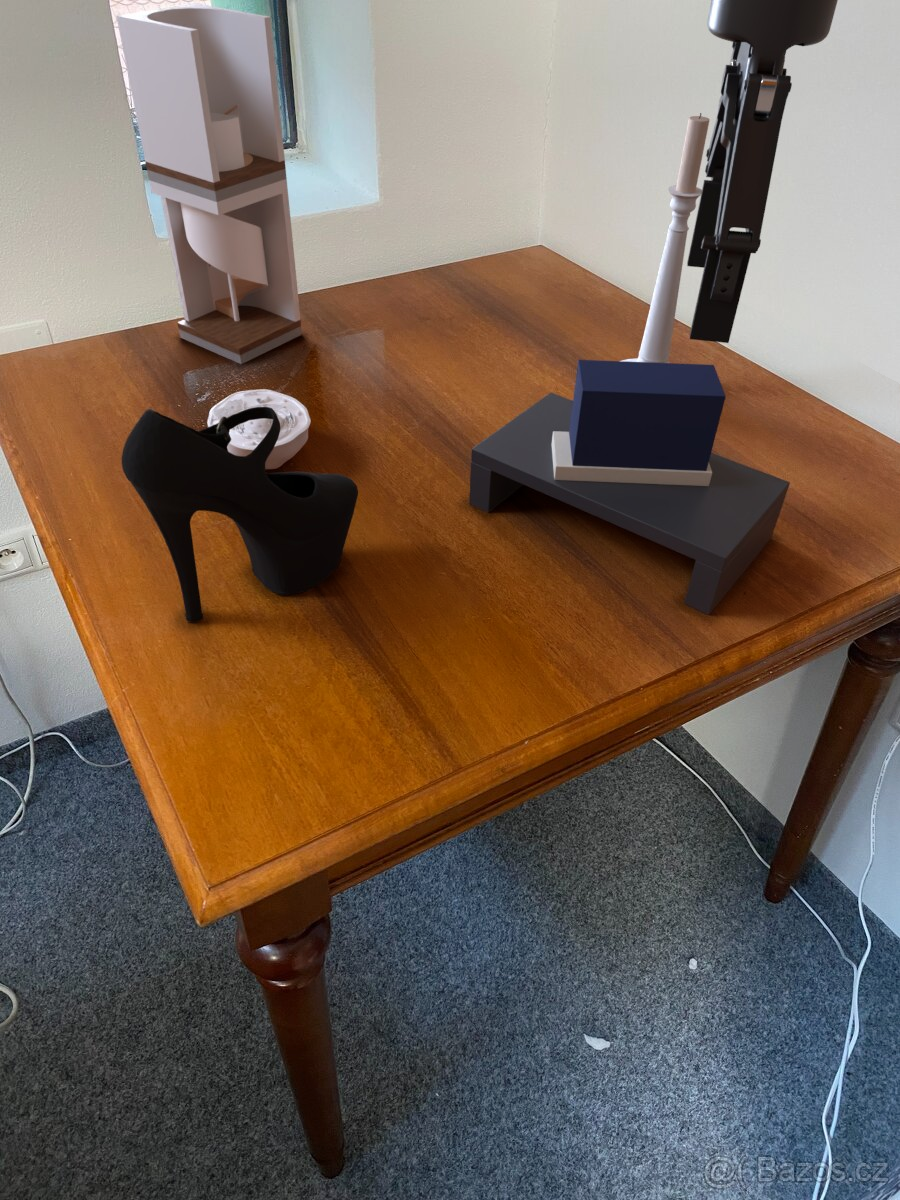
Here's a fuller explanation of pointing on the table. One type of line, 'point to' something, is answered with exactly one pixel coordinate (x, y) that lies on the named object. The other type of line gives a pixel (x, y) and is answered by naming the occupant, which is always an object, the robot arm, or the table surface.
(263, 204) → the white architectural model
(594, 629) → the table surface
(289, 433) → the cell model
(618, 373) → the navy block on base
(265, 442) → the high-heeled shoe
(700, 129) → the candlestick
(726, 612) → the table surface
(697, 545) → the shoe shelf
